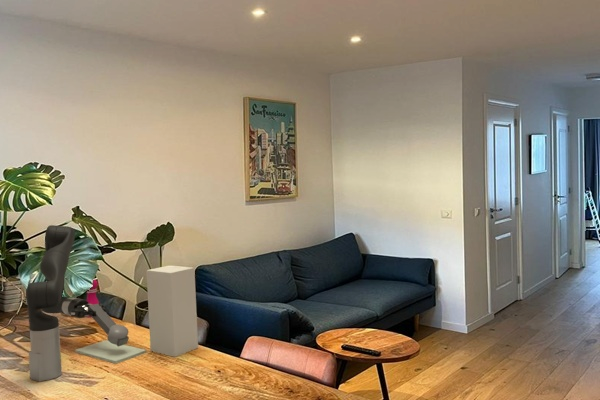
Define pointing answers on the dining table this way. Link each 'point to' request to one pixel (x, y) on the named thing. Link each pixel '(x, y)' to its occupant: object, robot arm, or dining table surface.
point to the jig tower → (172, 310)
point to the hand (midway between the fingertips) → (100, 312)
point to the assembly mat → (110, 351)
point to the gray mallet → (110, 326)
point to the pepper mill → (92, 294)
